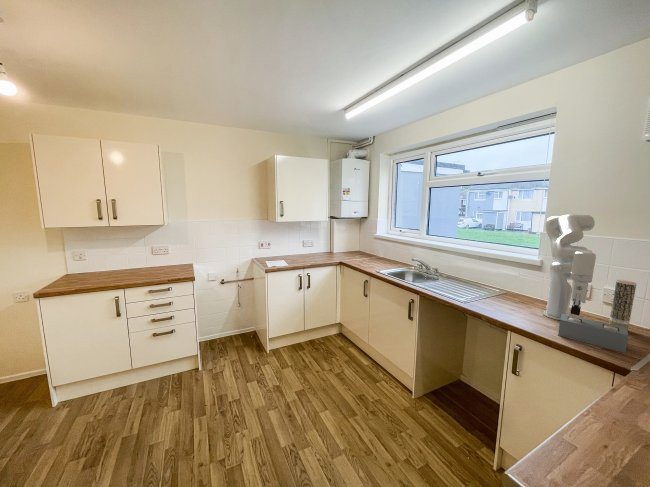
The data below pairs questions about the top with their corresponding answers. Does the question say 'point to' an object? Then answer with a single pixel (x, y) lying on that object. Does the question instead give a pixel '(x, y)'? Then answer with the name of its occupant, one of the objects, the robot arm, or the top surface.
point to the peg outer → (611, 328)
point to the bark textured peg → (622, 303)
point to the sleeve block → (594, 333)
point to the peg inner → (575, 319)
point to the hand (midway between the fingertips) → (574, 314)
